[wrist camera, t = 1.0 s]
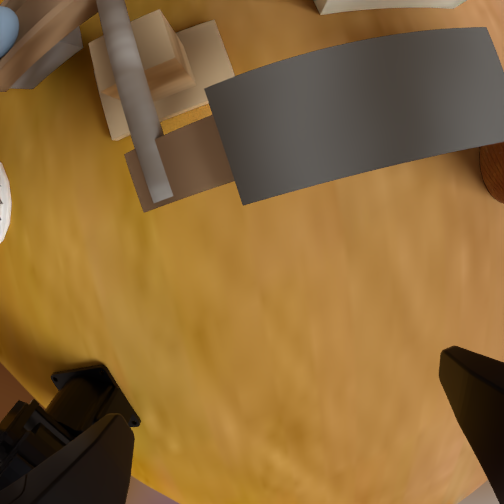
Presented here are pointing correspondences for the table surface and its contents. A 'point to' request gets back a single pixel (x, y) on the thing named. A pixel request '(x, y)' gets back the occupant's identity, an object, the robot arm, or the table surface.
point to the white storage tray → (380, 4)
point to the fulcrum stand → (164, 68)
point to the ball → (7, 29)
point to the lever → (282, 105)
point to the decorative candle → (4, 203)
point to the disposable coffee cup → (493, 169)
